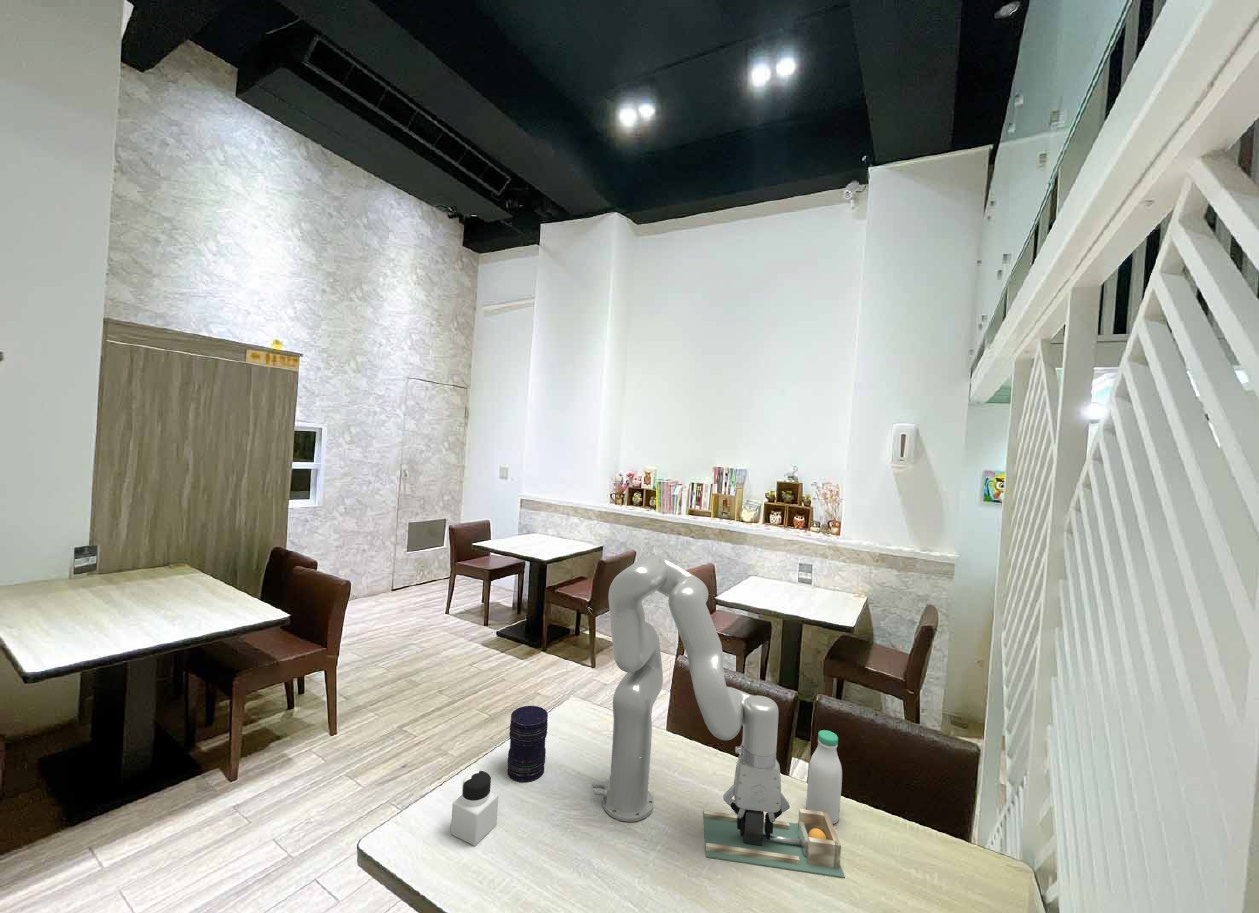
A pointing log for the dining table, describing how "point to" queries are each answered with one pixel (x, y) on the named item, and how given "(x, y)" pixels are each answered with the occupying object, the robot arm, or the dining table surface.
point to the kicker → (755, 835)
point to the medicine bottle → (474, 808)
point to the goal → (821, 849)
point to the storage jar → (527, 743)
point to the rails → (745, 851)
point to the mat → (761, 847)
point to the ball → (817, 834)
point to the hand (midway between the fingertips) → (754, 832)
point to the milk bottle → (825, 777)
